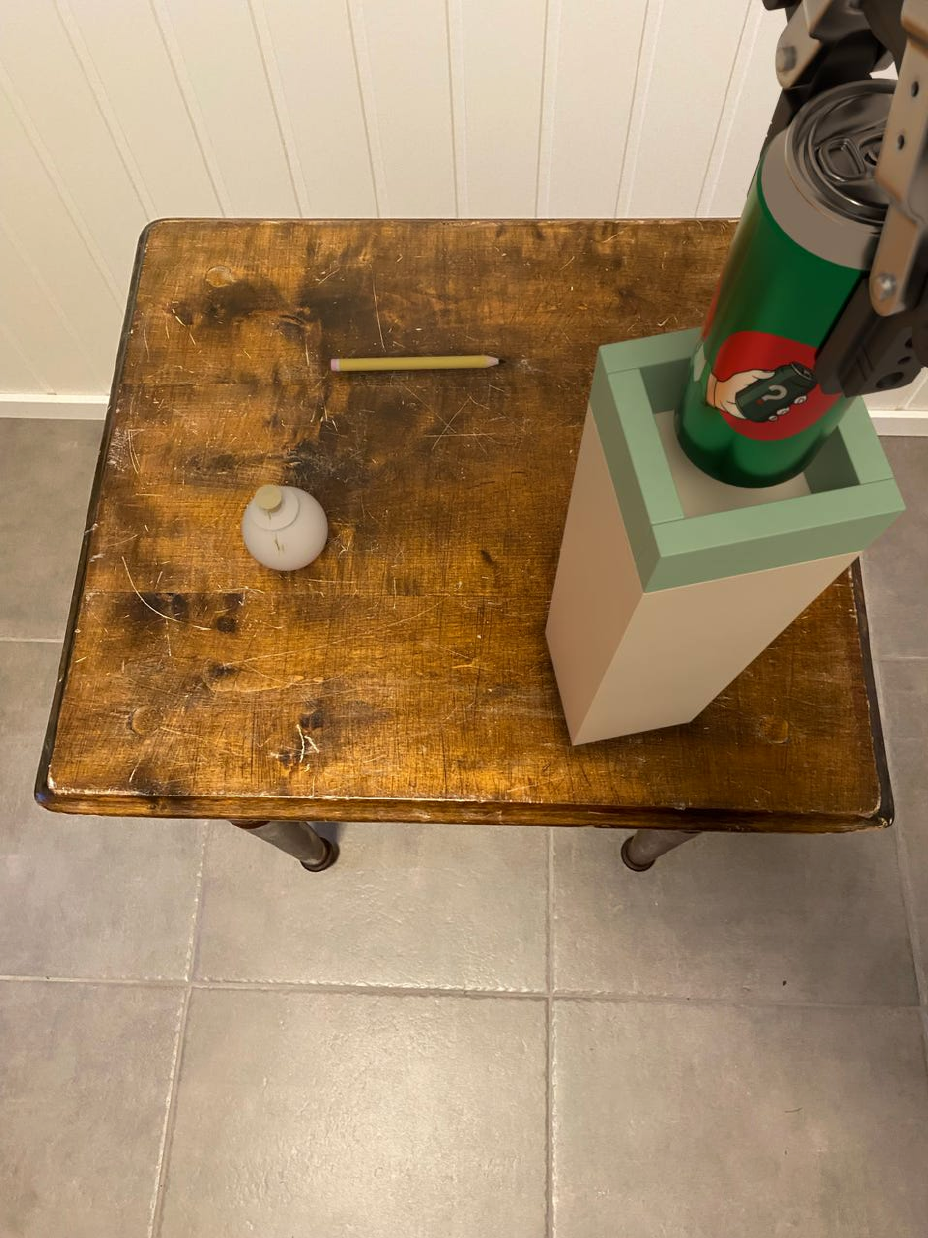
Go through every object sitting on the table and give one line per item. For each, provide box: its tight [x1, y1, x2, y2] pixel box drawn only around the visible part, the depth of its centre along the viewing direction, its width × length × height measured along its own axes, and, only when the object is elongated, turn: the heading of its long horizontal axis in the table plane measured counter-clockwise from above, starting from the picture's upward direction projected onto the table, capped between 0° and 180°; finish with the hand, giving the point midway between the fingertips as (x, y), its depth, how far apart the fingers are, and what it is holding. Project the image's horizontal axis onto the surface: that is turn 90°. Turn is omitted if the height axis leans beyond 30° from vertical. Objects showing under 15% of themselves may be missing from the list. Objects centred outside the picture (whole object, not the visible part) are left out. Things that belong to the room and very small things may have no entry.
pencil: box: [330, 355, 507, 373], centre depth 70 cm, size 1×14×1 cm, turn 91°
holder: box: [544, 326, 907, 747], centre depth 46 cm, size 8×8×34 cm
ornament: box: [241, 484, 329, 572], centre depth 61 cm, size 6×7×10 cm
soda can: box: [673, 77, 898, 489], centre depth 25 cm, size 5×5×12 cm
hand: (817, 287), depth 24 cm, fingers closed on soda can, 5 cm apart
